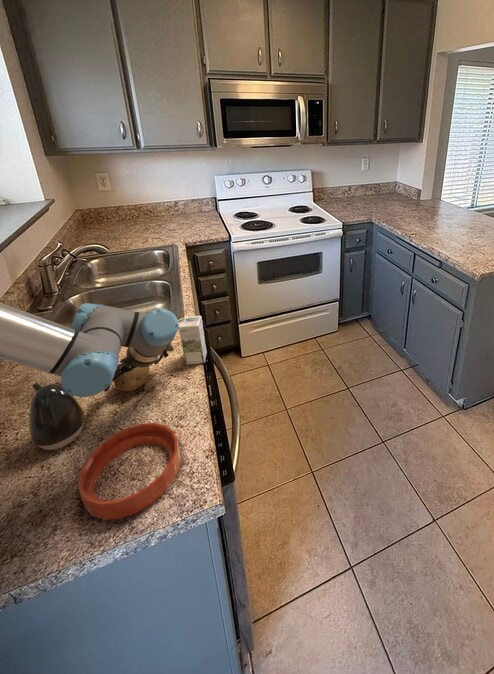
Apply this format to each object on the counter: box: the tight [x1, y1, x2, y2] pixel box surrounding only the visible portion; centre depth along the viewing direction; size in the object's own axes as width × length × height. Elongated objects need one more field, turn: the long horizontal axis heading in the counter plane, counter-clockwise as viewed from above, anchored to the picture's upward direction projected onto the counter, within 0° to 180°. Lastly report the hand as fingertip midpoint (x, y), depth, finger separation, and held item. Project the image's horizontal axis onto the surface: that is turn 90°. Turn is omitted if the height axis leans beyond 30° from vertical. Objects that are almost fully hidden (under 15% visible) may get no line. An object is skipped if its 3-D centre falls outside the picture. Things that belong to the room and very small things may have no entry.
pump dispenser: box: [28, 382, 86, 451], centre depth 82 cm, size 10×10×15 cm
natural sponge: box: [113, 362, 150, 392], centre depth 98 cm, size 9×9×10 cm
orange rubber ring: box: [77, 422, 181, 521], centre depth 75 cm, size 18×18×5 cm
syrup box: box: [178, 315, 208, 366], centre depth 109 cm, size 6×6×14 cm
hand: (130, 372), depth 99 cm, fingers open, 13 cm apart
